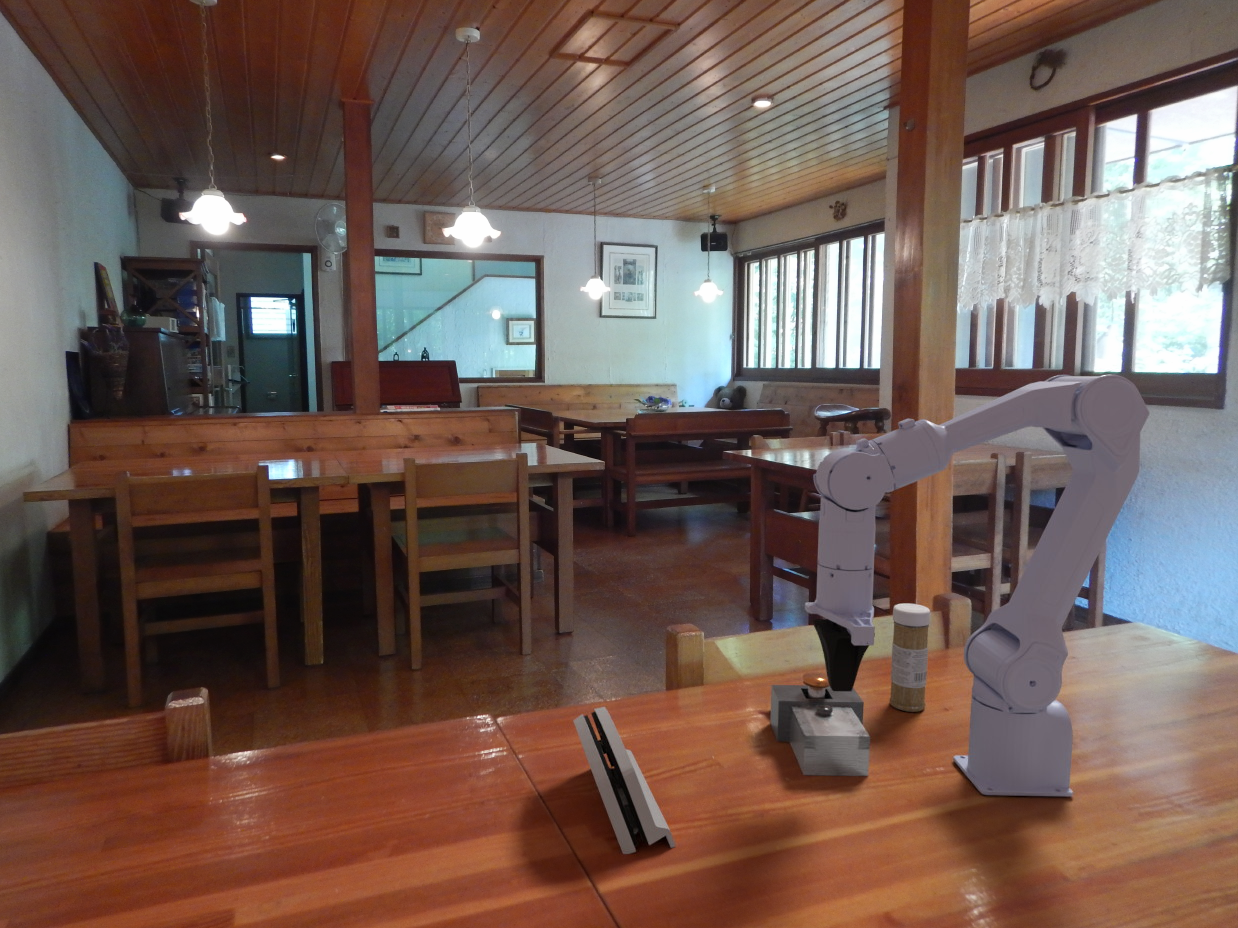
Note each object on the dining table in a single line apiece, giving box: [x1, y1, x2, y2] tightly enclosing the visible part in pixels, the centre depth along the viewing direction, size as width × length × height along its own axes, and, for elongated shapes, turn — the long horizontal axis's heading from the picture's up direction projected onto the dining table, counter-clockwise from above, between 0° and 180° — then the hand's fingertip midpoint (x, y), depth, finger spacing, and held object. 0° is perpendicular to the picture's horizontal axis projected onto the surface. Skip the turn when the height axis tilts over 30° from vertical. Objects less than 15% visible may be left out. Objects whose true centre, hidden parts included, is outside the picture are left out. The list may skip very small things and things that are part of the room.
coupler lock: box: [789, 705, 871, 777], centre depth 91 cm, size 8×7×5 cm
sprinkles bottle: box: [889, 602, 931, 713], centre depth 105 cm, size 5×5×13 cm
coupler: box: [770, 684, 865, 743], centre depth 98 cm, size 15×10×5 cm
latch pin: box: [802, 672, 830, 699], centre depth 97 cm, size 3×3×4 cm
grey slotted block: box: [572, 706, 676, 855], centre depth 80 cm, size 17×5×10 cm, turn 12°
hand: (840, 688), depth 86 cm, fingers closed
